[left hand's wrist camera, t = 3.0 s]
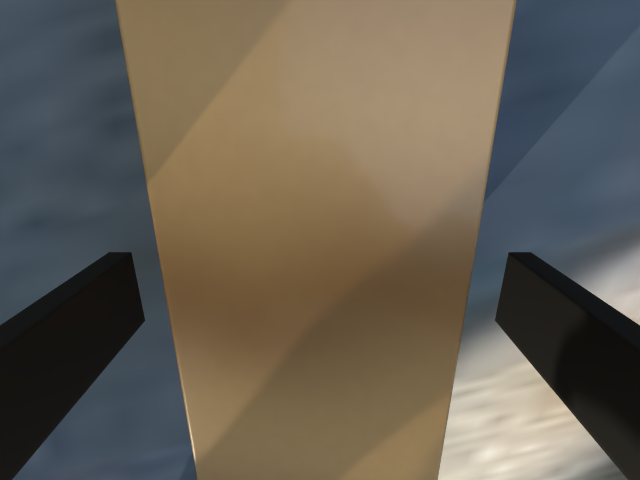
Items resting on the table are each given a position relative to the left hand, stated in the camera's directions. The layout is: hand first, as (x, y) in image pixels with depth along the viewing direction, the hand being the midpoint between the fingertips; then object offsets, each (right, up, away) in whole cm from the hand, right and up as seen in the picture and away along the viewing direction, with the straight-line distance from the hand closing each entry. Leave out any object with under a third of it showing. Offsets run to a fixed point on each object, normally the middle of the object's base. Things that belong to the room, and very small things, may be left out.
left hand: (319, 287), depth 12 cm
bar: (0, +9, 0) cm, 9 cm away
